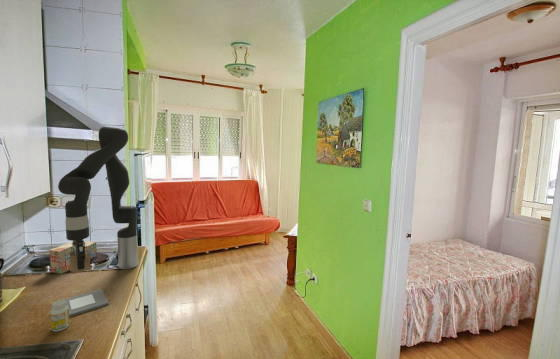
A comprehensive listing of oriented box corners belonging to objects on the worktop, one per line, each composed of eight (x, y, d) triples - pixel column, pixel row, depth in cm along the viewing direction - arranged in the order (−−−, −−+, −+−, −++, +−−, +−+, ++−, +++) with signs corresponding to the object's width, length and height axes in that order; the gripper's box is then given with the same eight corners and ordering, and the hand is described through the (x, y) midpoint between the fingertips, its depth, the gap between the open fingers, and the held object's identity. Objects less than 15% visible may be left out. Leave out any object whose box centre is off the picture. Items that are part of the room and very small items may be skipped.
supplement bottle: (60, 332, 99) (58, 307, 98) (47, 331, 100) (45, 306, 98) (73, 323, 104) (71, 299, 103) (60, 321, 105) (59, 297, 104)
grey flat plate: (56, 303, 116) (56, 300, 116) (101, 290, 127) (101, 288, 127) (59, 320, 106) (59, 317, 106) (108, 304, 116) (108, 302, 116)
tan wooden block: (70, 268, 114) (69, 252, 113) (87, 264, 118) (86, 248, 117) (72, 273, 110) (70, 256, 109) (90, 269, 114) (89, 253, 113)
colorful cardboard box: (88, 256, 163) (87, 235, 161) (97, 257, 161) (96, 237, 159) (50, 272, 142) (49, 249, 140) (60, 274, 141) (58, 251, 139)
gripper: (91, 229, 109) (94, 270, 111) (85, 220, 120) (88, 258, 122) (67, 232, 104) (70, 275, 106) (63, 223, 114) (66, 262, 117)
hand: (80, 266), depth 114 cm, fingers closed on tan wooden block, 6 cm apart
